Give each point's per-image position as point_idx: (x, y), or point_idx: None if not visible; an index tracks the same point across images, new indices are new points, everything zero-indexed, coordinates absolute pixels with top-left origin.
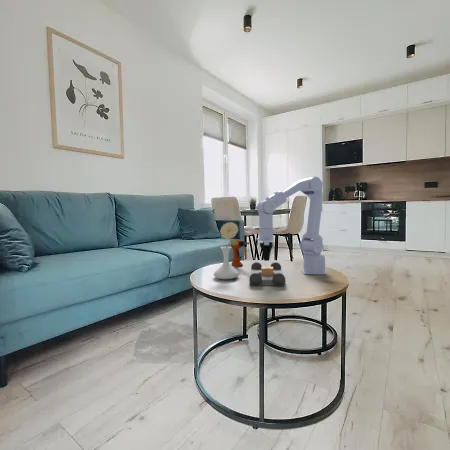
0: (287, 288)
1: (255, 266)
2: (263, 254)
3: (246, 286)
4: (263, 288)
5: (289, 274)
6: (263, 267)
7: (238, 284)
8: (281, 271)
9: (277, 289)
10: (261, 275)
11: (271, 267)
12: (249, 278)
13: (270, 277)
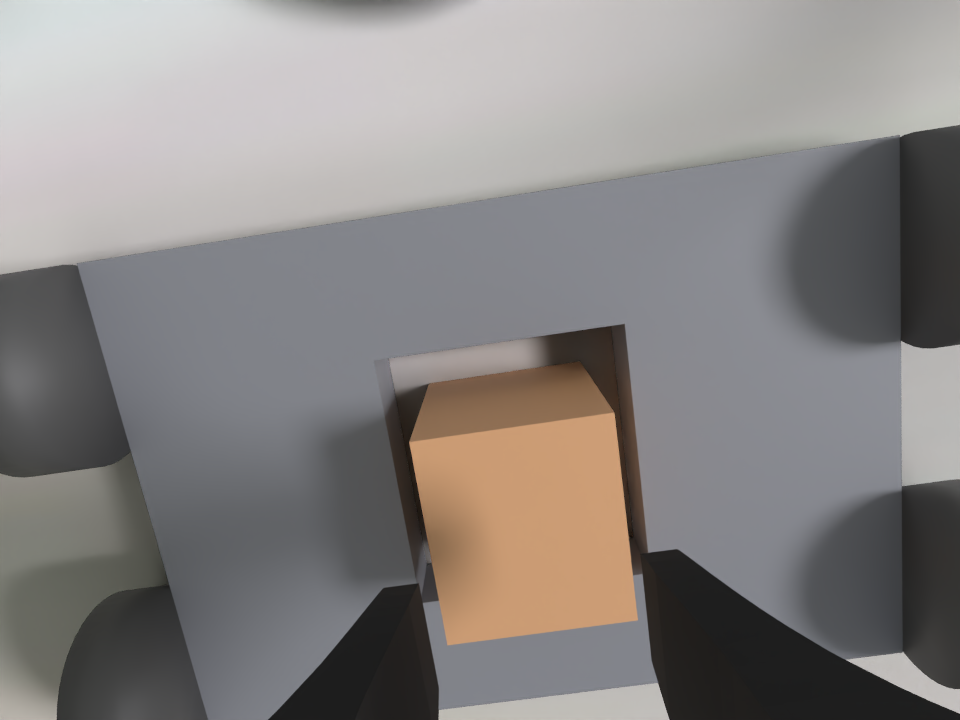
0: None
1: (936, 222)
2: (297, 703)
3: (34, 228)
4: None
5: None
6: (529, 464)
7: (94, 82)
8: None
9: (42, 620)
10: (617, 360)
11: (551, 605)
12: (9, 274)
13: (318, 548)
